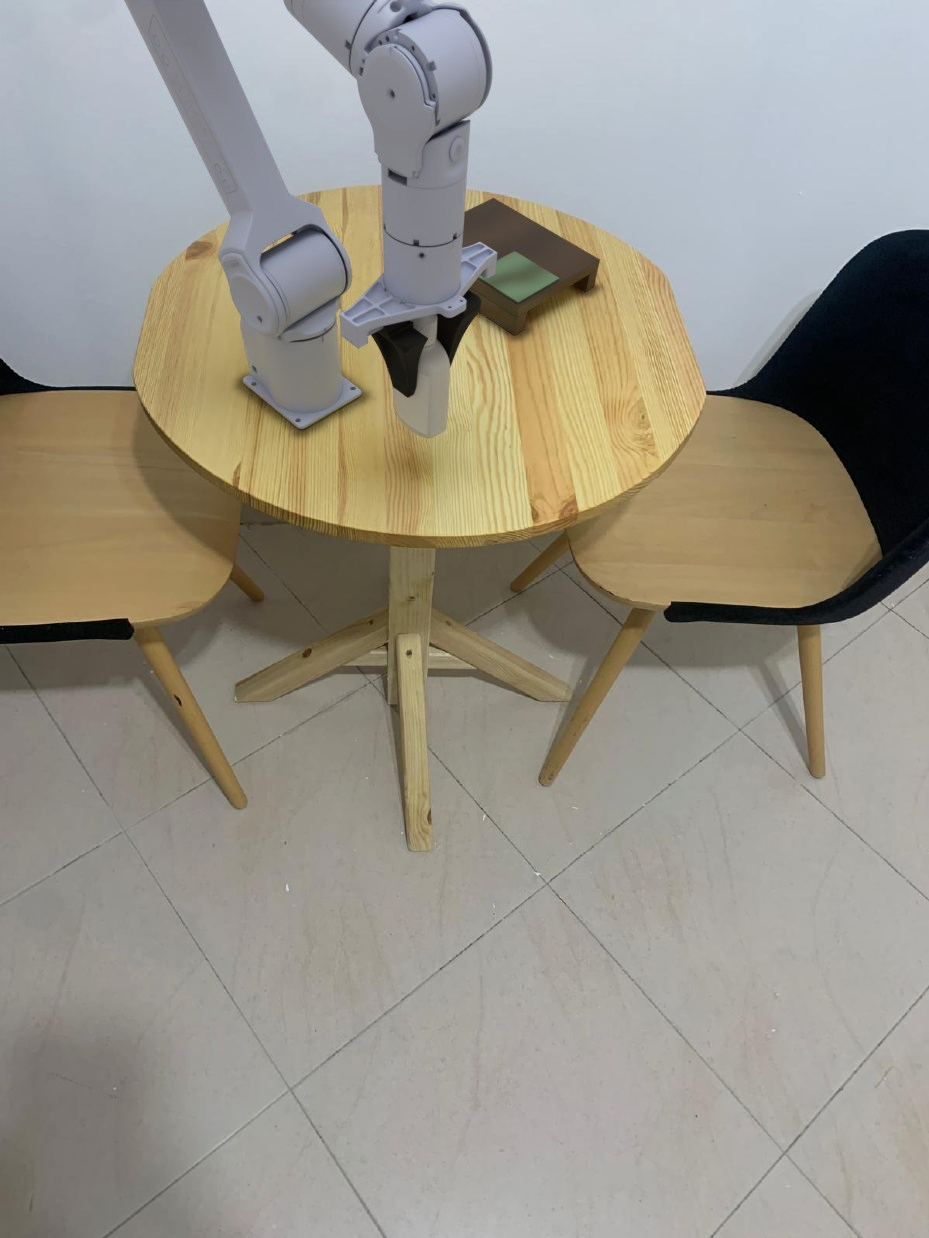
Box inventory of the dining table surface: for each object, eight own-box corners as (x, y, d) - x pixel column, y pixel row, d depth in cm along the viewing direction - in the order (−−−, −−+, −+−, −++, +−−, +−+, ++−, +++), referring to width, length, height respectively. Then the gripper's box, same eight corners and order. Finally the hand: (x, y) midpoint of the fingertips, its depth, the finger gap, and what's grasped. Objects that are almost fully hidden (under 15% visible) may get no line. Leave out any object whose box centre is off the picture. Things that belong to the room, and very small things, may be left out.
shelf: (409, 266, 91) (409, 236, 88) (490, 225, 97) (493, 196, 94) (514, 335, 85) (518, 306, 82) (594, 287, 91) (600, 258, 88)
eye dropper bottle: (399, 443, 67) (399, 325, 57) (391, 400, 70) (389, 280, 60) (449, 439, 68) (456, 321, 58) (438, 396, 71) (443, 277, 61)
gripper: (383, 290, 50) (387, 445, 61) (533, 213, 56) (512, 367, 67) (314, 241, 52) (330, 399, 64) (465, 173, 58) (455, 328, 70)
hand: (420, 380), depth 66 cm, fingers closed on eye dropper bottle, 3 cm apart
